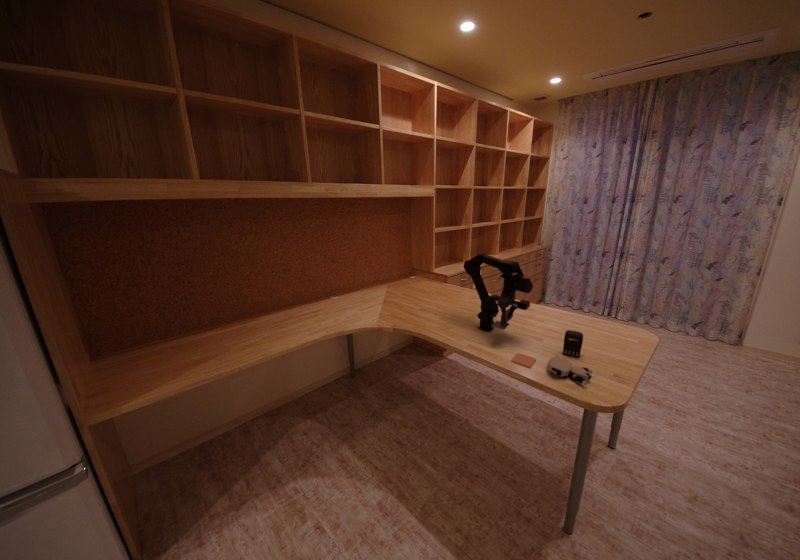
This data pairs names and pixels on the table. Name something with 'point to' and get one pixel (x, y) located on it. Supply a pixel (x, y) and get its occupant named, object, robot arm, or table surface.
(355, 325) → the table surface
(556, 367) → the robot toy
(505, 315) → the turner
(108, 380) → the table surface
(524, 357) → the tile
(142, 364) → the table surface
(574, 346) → the battery charger
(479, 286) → the robot arm
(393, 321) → the table surface
